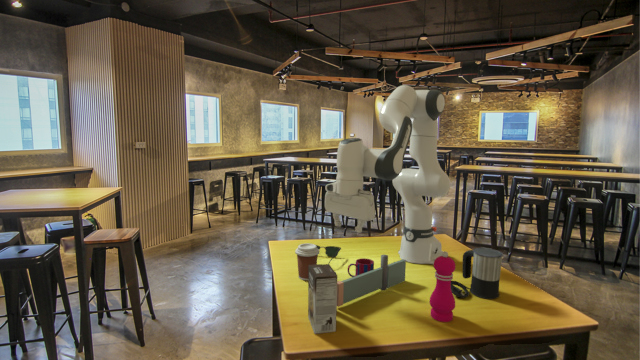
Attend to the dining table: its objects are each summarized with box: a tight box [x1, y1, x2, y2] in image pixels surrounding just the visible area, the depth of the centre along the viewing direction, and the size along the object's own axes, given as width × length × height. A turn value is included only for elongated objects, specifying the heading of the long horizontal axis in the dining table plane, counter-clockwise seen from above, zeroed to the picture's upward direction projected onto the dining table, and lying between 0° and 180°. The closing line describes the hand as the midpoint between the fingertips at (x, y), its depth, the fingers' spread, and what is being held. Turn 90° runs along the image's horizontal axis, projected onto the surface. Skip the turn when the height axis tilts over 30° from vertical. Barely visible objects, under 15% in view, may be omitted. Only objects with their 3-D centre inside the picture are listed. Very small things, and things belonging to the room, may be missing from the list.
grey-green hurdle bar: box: [337, 267, 383, 307], centre depth 116 cm, size 21×2×7 cm, turn 131°
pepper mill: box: [429, 250, 456, 323], centre depth 105 cm, size 7×7×20 cm
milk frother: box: [451, 247, 504, 300], centre depth 121 cm, size 14×16×15 cm
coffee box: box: [307, 263, 338, 335], centre depth 100 cm, size 9×6×16 cm
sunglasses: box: [315, 244, 342, 265], centre depth 150 cm, size 16×17×5 cm
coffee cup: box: [294, 243, 320, 281], centre depth 134 cm, size 9×9×12 cm
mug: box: [347, 257, 375, 278], centre depth 132 cm, size 7×10×7 cm
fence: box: [334, 254, 407, 291], centre depth 119 cm, size 37×2×12 cm, turn 131°
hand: (348, 229), depth 119 cm, fingers open, 8 cm apart
